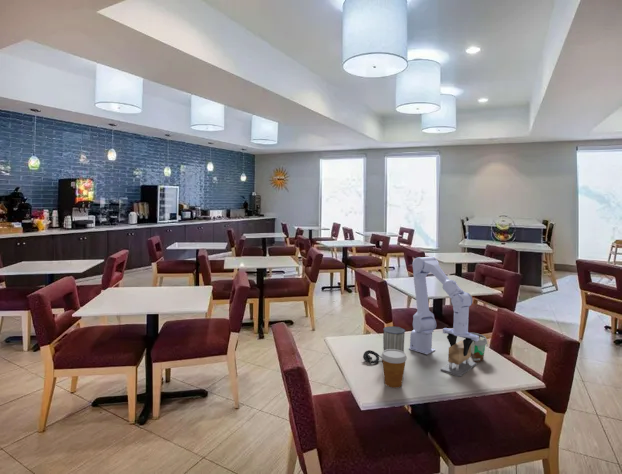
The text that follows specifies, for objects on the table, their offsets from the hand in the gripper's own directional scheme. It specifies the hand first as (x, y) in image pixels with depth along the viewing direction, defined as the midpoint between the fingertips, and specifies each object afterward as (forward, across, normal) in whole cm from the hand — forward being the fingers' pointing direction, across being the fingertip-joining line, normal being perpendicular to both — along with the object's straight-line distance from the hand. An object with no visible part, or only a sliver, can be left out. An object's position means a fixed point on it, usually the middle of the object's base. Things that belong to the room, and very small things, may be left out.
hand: (459, 353), depth 162 cm
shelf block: (+2, 0, 0) cm, 3 cm away
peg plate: (+6, 0, 0) cm, 6 cm away
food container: (+6, +2, +16) cm, 17 cm away
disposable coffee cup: (+6, -11, -33) cm, 35 cm away
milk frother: (+6, -25, -18) cm, 32 cm away
